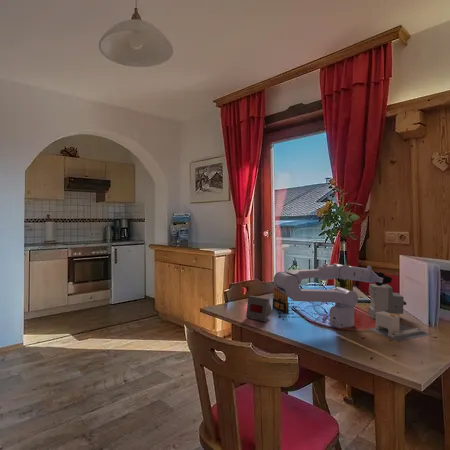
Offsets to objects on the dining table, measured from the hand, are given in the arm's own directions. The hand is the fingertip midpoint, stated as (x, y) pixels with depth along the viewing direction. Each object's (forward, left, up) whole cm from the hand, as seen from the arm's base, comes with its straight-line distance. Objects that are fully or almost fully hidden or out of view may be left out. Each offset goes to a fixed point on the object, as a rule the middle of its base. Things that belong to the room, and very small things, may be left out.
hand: (384, 277), depth 143 cm
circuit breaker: (+5, +3, -20) cm, 21 cm away
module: (-10, -10, -19) cm, 23 cm away
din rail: (-7, -16, -19) cm, 26 cm away
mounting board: (-7, -13, -19) cm, 24 cm away
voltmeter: (-42, +21, -20) cm, 51 cm away
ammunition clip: (-32, +33, -20) cm, 50 cm away
